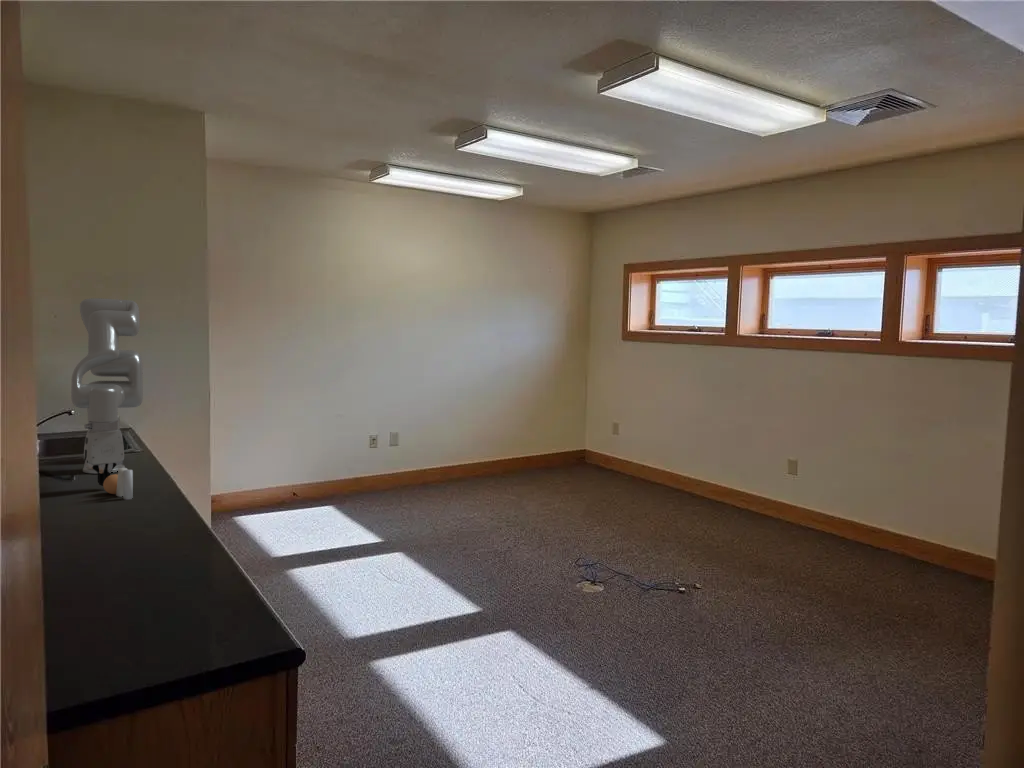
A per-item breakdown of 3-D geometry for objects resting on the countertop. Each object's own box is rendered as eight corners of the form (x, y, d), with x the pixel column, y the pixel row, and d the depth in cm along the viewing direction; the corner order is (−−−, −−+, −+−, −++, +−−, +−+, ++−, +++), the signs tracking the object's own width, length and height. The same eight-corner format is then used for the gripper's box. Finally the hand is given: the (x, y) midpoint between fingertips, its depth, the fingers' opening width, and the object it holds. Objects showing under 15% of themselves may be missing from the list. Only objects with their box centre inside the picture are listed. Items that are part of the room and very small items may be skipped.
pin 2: (122, 498, 198) (122, 470, 198) (132, 497, 200) (131, 469, 199) (124, 499, 197) (124, 471, 196) (133, 498, 198) (133, 470, 197)
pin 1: (115, 493, 201) (117, 467, 199) (124, 492, 203) (126, 467, 200) (116, 497, 199) (118, 471, 197) (125, 496, 201) (128, 471, 198)
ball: (113, 479, 198) (112, 498, 199) (131, 474, 204) (130, 493, 205) (98, 474, 200) (98, 493, 201) (117, 470, 206) (116, 488, 207)
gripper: (82, 430, 198) (82, 491, 199) (134, 425, 210) (134, 483, 211) (71, 427, 202) (71, 486, 204) (123, 423, 214) (123, 479, 216)
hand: (103, 484), depth 207 cm, fingers closed
